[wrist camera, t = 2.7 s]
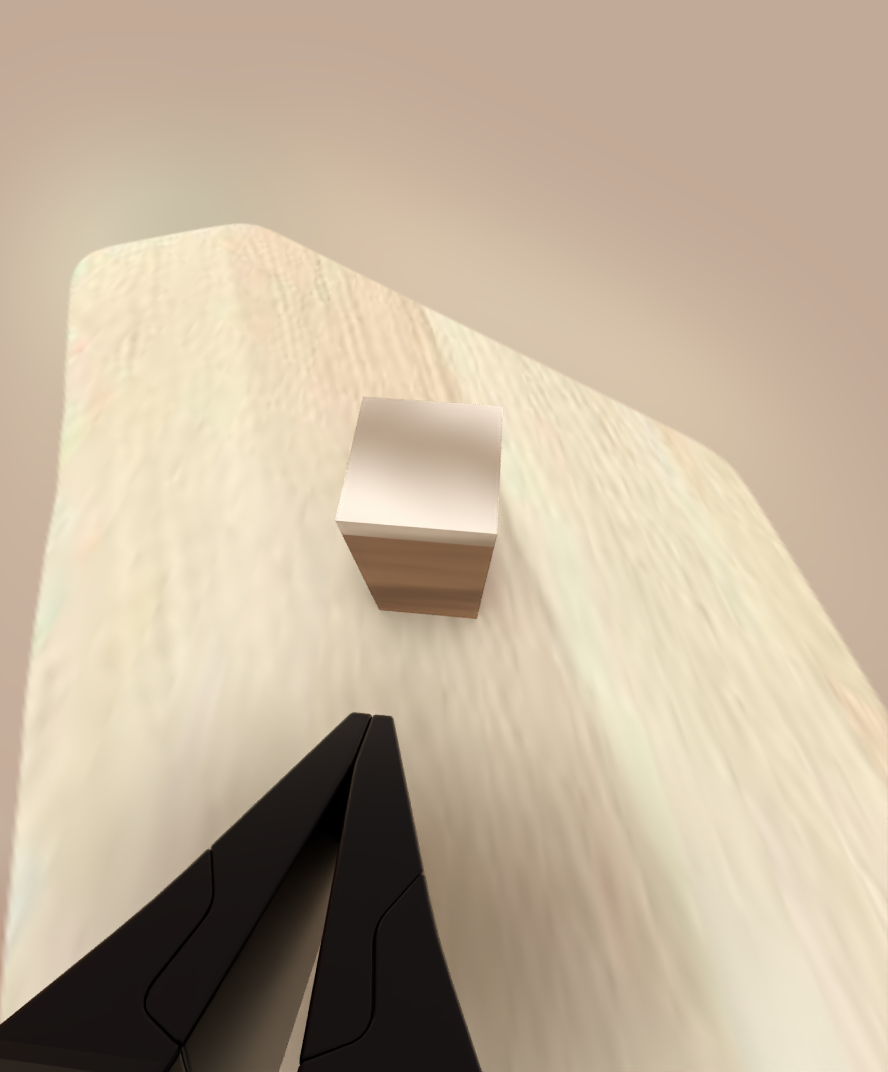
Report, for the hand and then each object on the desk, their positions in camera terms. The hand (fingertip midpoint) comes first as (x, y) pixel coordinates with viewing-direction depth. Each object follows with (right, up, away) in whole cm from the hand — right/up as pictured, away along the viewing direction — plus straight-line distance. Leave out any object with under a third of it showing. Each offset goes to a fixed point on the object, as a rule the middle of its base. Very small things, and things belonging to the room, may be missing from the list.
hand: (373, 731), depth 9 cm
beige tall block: (+1, +2, +15) cm, 15 cm away
